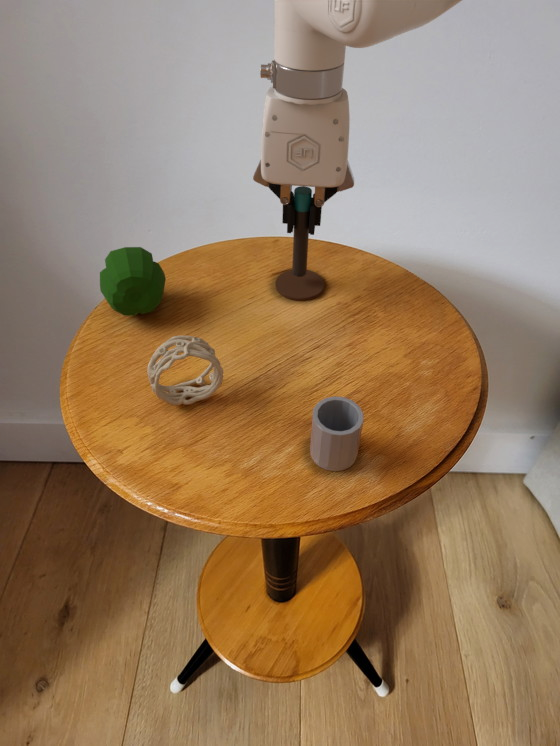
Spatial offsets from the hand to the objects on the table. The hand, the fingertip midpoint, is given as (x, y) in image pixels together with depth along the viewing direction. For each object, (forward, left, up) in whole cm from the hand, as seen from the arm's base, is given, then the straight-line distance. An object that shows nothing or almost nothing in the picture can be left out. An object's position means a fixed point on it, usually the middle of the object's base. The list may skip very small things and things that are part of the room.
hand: (301, 227), depth 74 cm
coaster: (0, 0, -9) cm, 9 cm away
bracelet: (+11, +23, -10) cm, 27 cm away
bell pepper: (+20, +12, -5) cm, 23 cm away
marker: (0, 0, -7) cm, 7 cm away
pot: (-6, +29, -9) cm, 31 cm away
